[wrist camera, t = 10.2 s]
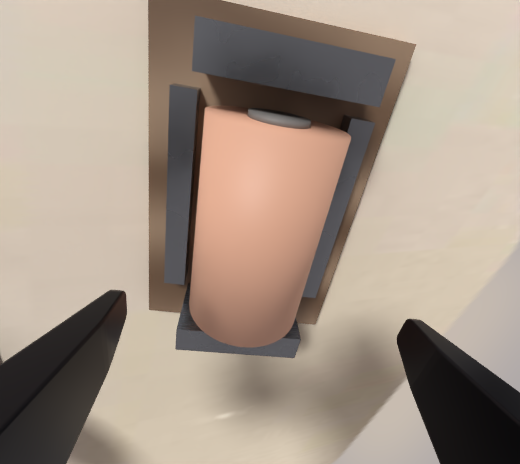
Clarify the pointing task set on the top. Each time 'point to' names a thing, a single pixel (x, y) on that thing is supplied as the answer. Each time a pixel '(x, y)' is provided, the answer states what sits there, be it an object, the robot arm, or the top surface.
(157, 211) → the roll cradle
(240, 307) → the roll
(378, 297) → the top surface
